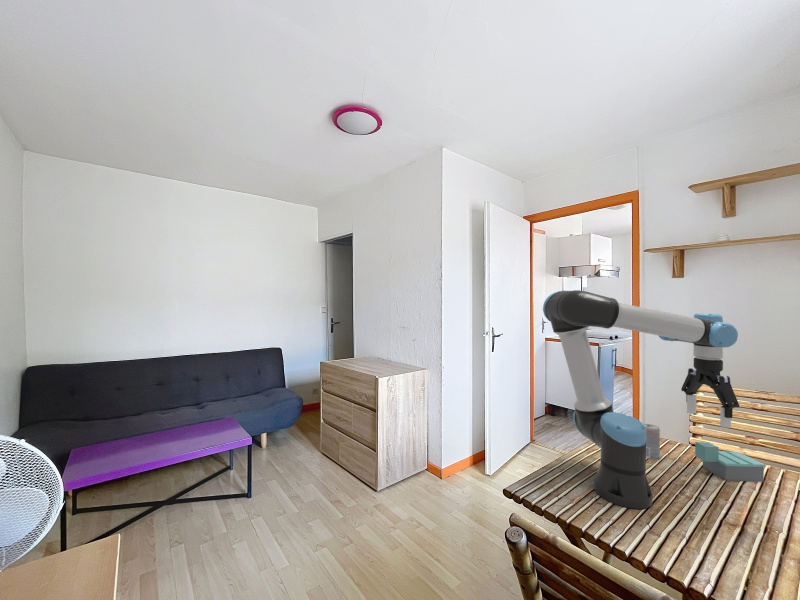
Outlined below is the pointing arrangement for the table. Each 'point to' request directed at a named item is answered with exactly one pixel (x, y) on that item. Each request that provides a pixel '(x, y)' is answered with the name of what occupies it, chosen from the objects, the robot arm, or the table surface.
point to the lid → (723, 456)
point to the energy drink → (652, 441)
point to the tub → (735, 472)
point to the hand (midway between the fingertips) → (707, 419)
